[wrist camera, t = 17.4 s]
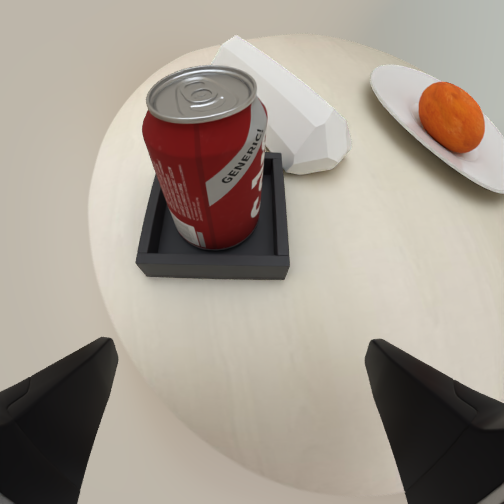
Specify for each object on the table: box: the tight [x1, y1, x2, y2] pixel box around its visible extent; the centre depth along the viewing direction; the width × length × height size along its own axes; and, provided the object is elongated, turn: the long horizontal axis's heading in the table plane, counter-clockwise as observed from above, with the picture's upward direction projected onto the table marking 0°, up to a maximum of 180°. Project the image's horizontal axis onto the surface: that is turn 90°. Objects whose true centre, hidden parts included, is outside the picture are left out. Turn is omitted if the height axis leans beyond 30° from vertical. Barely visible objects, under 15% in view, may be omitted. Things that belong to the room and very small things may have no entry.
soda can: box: [142, 65, 268, 250], centre depth 17 cm, size 7×7×12 cm
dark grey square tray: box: [136, 152, 290, 280], centre depth 22 cm, size 11×11×3 cm
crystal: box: [211, 35, 352, 175], centre depth 27 cm, size 7×7×24 cm
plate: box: [370, 65, 504, 194], centre depth 27 cm, size 28×28×9 cm
